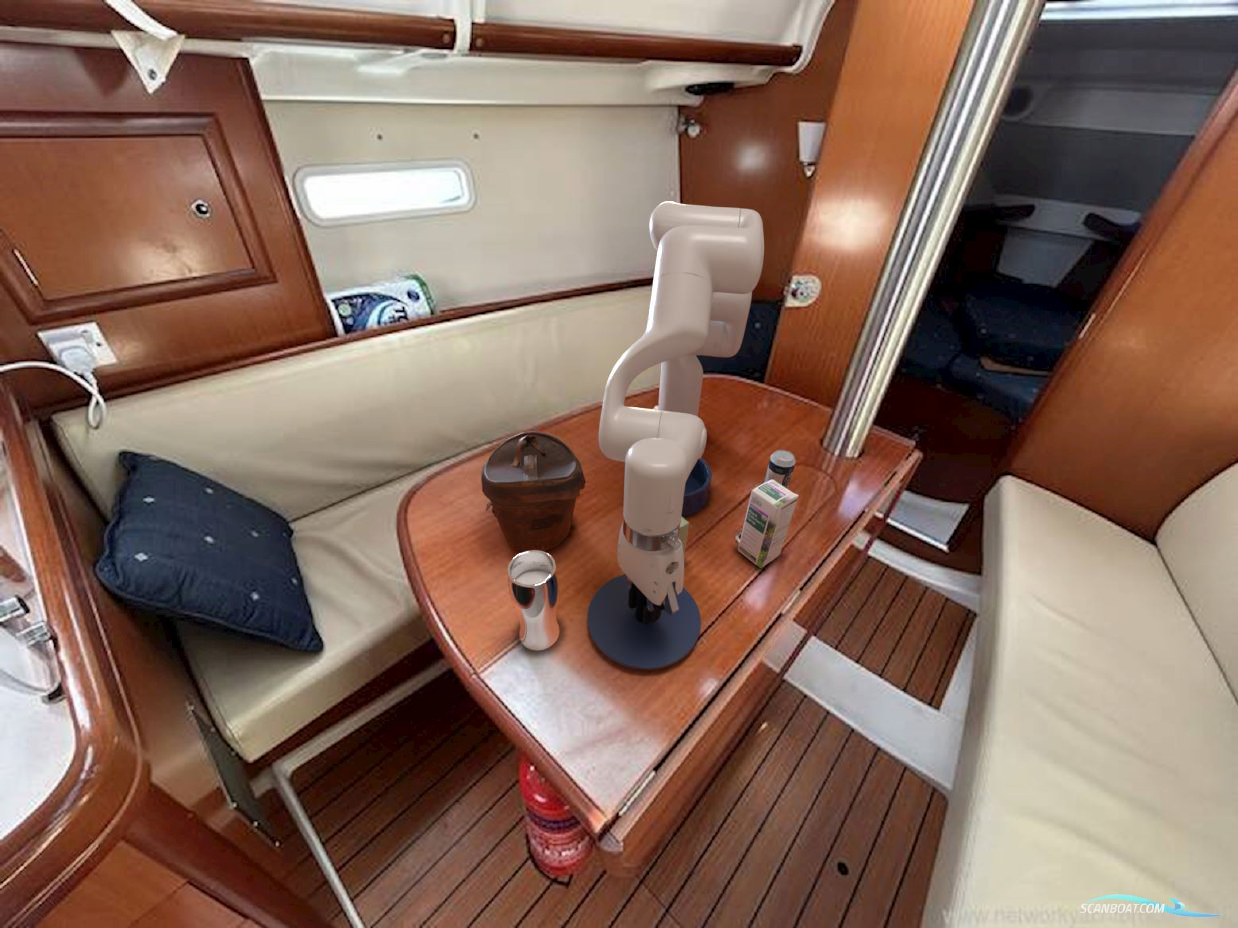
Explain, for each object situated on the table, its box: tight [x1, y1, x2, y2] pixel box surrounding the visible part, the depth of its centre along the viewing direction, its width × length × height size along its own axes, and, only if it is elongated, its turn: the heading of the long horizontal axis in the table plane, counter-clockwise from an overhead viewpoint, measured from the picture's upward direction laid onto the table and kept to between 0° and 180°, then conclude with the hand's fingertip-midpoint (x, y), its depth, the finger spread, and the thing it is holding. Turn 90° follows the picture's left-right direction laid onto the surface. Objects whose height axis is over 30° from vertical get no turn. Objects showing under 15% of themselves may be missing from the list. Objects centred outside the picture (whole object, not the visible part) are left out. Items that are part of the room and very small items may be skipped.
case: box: [480, 430, 587, 552], centre depth 91 cm, size 18×20×18 cm
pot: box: [681, 457, 713, 518], centre depth 104 cm, size 17×17×5 cm
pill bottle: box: [763, 449, 797, 490], centre depth 100 cm, size 5×5×12 cm
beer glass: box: [506, 550, 560, 652], centre depth 73 cm, size 7×7×15 cm
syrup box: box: [737, 479, 799, 569], centre depth 88 cm, size 6×6×14 cm
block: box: [678, 516, 690, 557], centre depth 87 cm, size 4×4×10 cm
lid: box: [587, 573, 702, 671], centre depth 77 cm, size 18×18×8 cm
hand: (644, 610), depth 78 cm, fingers closed on lid, 2 cm apart
